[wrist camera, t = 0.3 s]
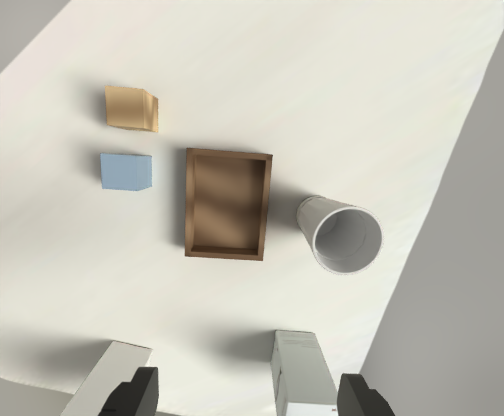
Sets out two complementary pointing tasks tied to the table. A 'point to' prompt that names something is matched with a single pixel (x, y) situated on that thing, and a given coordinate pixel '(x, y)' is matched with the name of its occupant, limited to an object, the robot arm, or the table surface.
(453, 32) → the table surface
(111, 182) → the slate block
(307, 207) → the cup
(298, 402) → the supplement box
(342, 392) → the robot arm
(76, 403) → the milk carton
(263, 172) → the tray
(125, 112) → the oak block
